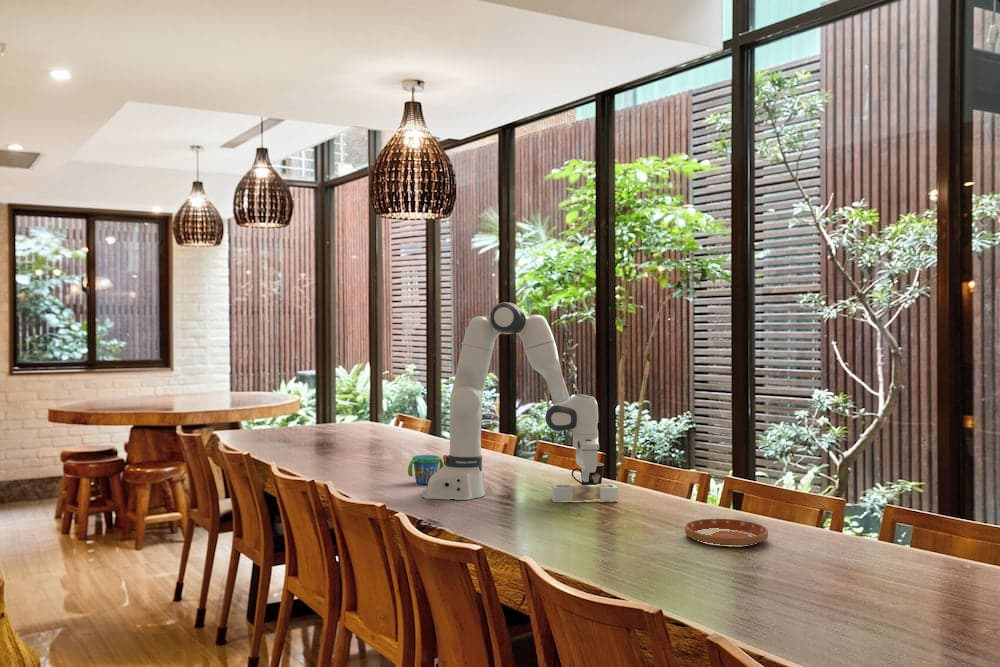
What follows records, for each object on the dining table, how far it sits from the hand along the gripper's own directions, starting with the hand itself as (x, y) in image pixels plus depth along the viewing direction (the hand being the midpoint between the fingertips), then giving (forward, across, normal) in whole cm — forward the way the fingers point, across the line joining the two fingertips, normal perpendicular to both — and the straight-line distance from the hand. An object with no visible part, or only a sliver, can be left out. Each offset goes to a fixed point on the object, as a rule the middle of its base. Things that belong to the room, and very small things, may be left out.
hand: (585, 481), depth 294 cm
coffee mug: (+7, -16, +4) cm, 18 cm away
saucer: (+7, +55, +30) cm, 63 cm away
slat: (+6, 0, 0) cm, 6 cm away
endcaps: (+7, 0, 0) cm, 7 cm away
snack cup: (+6, -34, -55) cm, 65 cm away
